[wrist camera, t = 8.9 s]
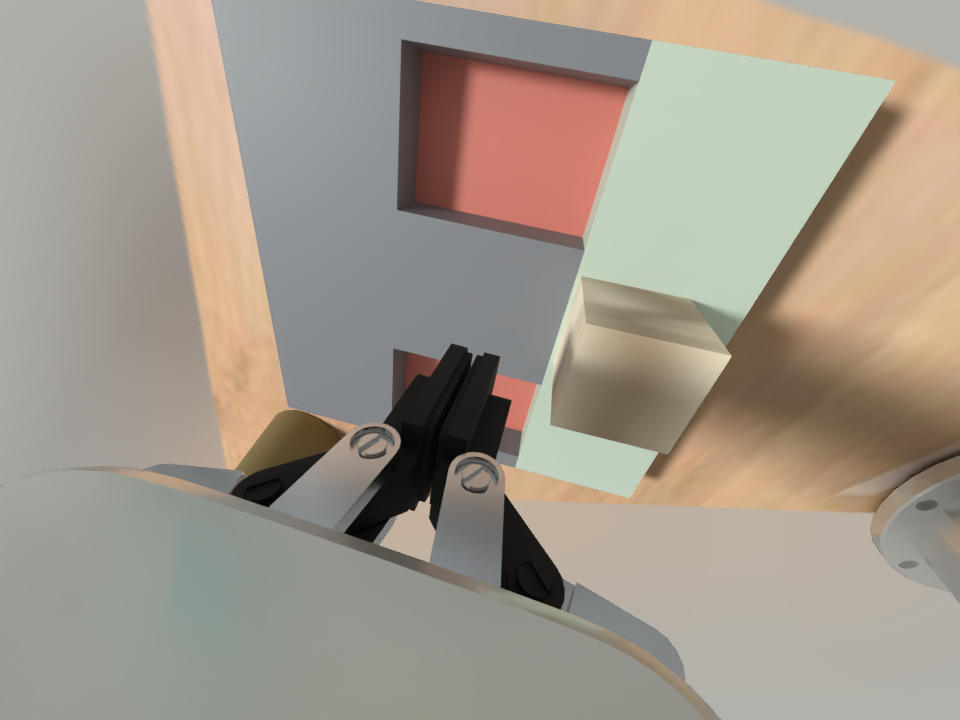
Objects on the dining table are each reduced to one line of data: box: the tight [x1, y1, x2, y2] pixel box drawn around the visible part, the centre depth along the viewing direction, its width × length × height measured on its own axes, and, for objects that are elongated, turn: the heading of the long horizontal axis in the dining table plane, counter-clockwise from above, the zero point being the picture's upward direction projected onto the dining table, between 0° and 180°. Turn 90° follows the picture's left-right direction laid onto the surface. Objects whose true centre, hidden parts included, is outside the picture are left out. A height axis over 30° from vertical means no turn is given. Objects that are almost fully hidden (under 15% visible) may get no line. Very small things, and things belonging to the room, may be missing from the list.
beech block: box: [550, 276, 732, 455], centre depth 14 cm, size 4×4×4 cm
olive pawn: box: [235, 410, 340, 476], centre depth 24 cm, size 6×6×11 cm
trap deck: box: [211, 0, 896, 498], centre depth 18 cm, size 22×20×2 cm
